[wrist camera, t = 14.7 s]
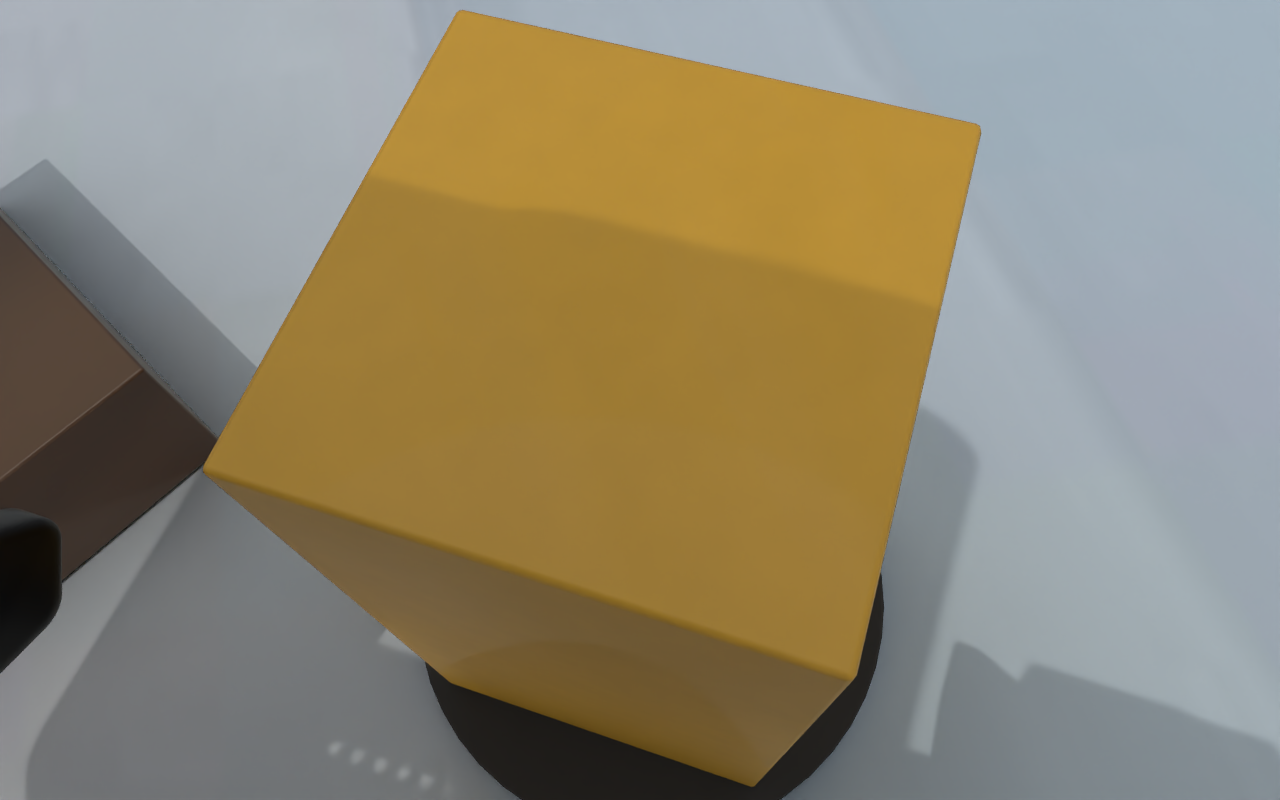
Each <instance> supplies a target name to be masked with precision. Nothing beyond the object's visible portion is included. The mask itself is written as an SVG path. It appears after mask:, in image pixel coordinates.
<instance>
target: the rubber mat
mask: <svg viewBox="0 0 1280 800" xmlns="http://www.w3.org/2000/svg"><path fill="white" fill-rule="evenodd" d="M883 612H884V602H883V588H882V576H881V572H880V576H879V581H878V585H877V589H876V594H875V598H874V602H873V607H872V611H871V616H870V620H869V624H868V629H867V633H866V637H865V642H864V646H863V650H862V655H861V659H860V663H859V668H858V672H857V676H856V677H855V678H854V680H853V681H852V682H851V683H850V684H849V685H848V686H847V687H846V689H845V690H844V691H843V692H842V693H841V694H840V695H839V696H838V697H837V698H836V699H835V700H834V701H833V702H832V704H831V705H830V706H829V707H828V708H827V709H826V710H825V711H824V712H823V713H822V714H821V715H820V716H819V718H818V719H817V720H816V721H815V722H814V723H813V724H812V725H811V726H810V727H809V728H808V729H807V730H806V731H805V733H804V734H803V735H802V736H801V737H800V738H799V739H798V740H797V741H796V742H795V743H794V744H793V745H792V746H791V748H790V749H789V750H788V751H787V752H786V753H785V754H784V755H783V756H782V757H781V758H780V759H779V760H778V762H777V763H776V764H775V765H774V766H773V767H772V768H771V769H770V770H769V771H768V772H767V773H766V774H765V775H764V777H763V778H762V779H761V780H760V781H759V782H758V783H757V784H756V785H755V786H753V787H750V786H747V785H744V784H742V783H739V782H736V781H733V780H730V779H727V778H724V777H721V776H718V775H715V774H713V773H710V772H707V771H704V770H701V769H698V768H695V767H692V766H689V765H687V764H684V763H681V762H678V761H675V760H672V759H669V758H666V757H663V756H660V755H658V754H655V753H652V752H649V751H646V750H643V749H640V748H637V747H634V746H632V745H629V744H626V743H623V742H620V741H617V740H614V739H611V738H608V737H605V736H603V735H600V734H597V733H594V732H591V731H588V730H585V729H582V728H579V727H577V726H574V725H571V724H568V723H565V722H562V721H559V720H556V719H553V718H550V717H548V716H545V715H542V714H539V713H536V712H533V711H530V710H527V709H524V708H521V707H519V706H516V705H513V704H510V703H507V702H504V701H501V700H498V699H495V698H493V697H490V696H487V695H484V694H481V693H478V692H475V691H472V690H469V689H466V688H464V687H461V686H458V685H455V684H452V683H450V682H449V681H448V680H447V679H445V678H444V677H443V676H442V675H441V674H440V673H438V672H437V671H436V670H435V669H434V668H432V667H431V666H430V665H429V664H428V663H427V662H425V664H426V668H427V671H428V675H429V679H430V683H431V685H432V687H433V690H434V692H435V694H436V697H437V699H438V702H439V704H440V706H441V709H442V711H443V713H444V715H445V716H446V718H447V720H448V721H449V723H450V725H451V726H452V728H453V730H454V731H455V733H456V735H457V736H458V738H459V740H460V741H461V742H462V743H463V745H464V746H465V747H466V748H467V750H468V751H469V752H470V753H471V755H472V756H473V757H474V758H475V759H476V761H477V762H478V763H479V764H480V765H481V766H482V767H483V768H484V769H485V770H486V771H487V772H488V773H489V774H490V775H491V776H492V777H494V778H495V779H496V780H497V781H498V782H499V783H500V784H501V785H502V786H503V787H505V788H506V789H508V790H509V791H510V792H512V793H513V794H515V795H516V796H518V797H519V798H520V799H522V800H780V799H781V798H783V797H784V796H786V795H787V794H788V793H789V792H791V791H792V790H793V789H794V788H796V787H797V786H798V785H799V784H801V783H802V782H803V781H804V780H806V779H807V778H808V777H809V776H810V775H811V774H812V773H813V772H814V771H815V770H816V769H817V768H818V767H819V766H820V765H821V764H822V763H823V762H824V760H825V759H826V758H827V757H828V756H829V755H830V754H831V753H832V752H833V750H834V749H835V748H836V746H837V745H838V743H839V742H840V740H841V739H842V738H843V736H844V735H845V733H846V732H847V731H848V729H849V728H850V726H851V725H852V723H853V721H854V719H855V717H856V715H857V713H858V711H859V709H860V707H861V705H862V703H863V701H864V699H865V697H866V694H867V691H868V689H869V686H870V683H871V680H872V677H873V674H874V671H875V668H876V664H877V659H878V654H879V649H880V644H881V639H882V628H883Z"/></svg>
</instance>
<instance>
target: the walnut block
mask: <svg viewBox="0 0 1280 800" xmlns="http://www.w3.org/2000/svg"><path fill="white" fill-rule="evenodd" d="M218 439H219V438H218V437H217V436H216V435H215V434H214V433H213V432H212V431H211V430H210V429H209V427H208V426H207V425H206V424H205V423H204V422H203V421H202V420H201V419H200V418H199V417H198V416H197V415H196V414H195V413H194V412H193V411H192V410H191V408H190V407H189V406H188V405H187V404H186V403H185V402H184V401H183V400H182V399H181V398H180V397H179V396H178V395H177V394H176V393H175V392H174V391H173V389H172V388H171V387H170V386H169V385H168V384H167V383H166V382H165V381H164V380H163V379H162V378H161V377H160V376H159V375H158V374H157V373H156V372H155V370H154V369H153V368H152V367H151V366H150V365H149V364H148V363H147V362H146V361H145V360H144V359H143V358H142V357H141V356H140V355H139V354H138V353H137V351H136V350H135V349H134V348H133V347H132V346H131V345H130V344H129V343H128V342H127V341H126V340H125V339H124V338H123V337H122V336H121V335H120V334H119V332H118V331H117V330H116V329H115V328H114V327H113V326H112V325H111V324H110V323H109V322H108V321H107V320H106V319H105V318H104V317H103V316H102V315H101V313H100V312H99V311H98V310H97V309H96V308H95V307H94V306H93V305H92V304H91V303H90V302H89V301H88V300H87V299H86V298H85V297H84V296H83V294H82V293H81V292H80V291H79V290H78V289H77V288H76V287H75V286H74V285H73V284H72V283H71V282H70V281H69V280H68V279H67V278H66V277H65V275H64V274H63V273H62V272H61V271H60V270H59V269H58V268H57V267H56V266H55V265H54V264H53V263H52V262H51V261H50V260H49V259H48V258H47V256H46V255H45V254H44V253H43V252H42V251H41V250H40V249H39V248H38V247H37V246H36V245H35V244H34V243H33V242H32V241H31V240H30V239H29V237H28V236H27V235H26V234H25V233H24V232H23V231H22V230H21V229H20V228H19V227H18V226H17V225H16V224H15V223H14V222H13V221H12V220H11V218H10V217H9V216H8V215H7V214H6V213H5V212H4V211H3V210H2V209H1V208H0V509H5V508H17V509H21V510H25V511H28V512H31V513H34V514H37V515H39V516H42V517H45V518H48V519H50V520H52V521H53V522H55V523H56V524H57V525H58V527H59V530H60V532H61V537H62V580H63V579H64V578H66V577H67V576H68V575H69V574H70V573H72V572H73V571H74V570H75V569H76V568H78V567H79V566H80V565H81V564H82V563H84V562H85V561H86V560H87V559H88V558H90V557H91V556H92V555H93V554H94V553H96V552H97V551H98V550H99V549H100V548H102V547H103V546H104V545H105V544H106V543H108V542H109V541H110V540H111V539H112V538H114V537H115V536H116V535H117V534H118V533H120V532H121V531H122V530H123V529H124V528H126V527H127V526H128V525H129V524H130V523H132V522H133V521H134V520H135V519H136V518H138V517H139V516H140V515H141V514H142V513H144V512H145V511H146V510H147V509H148V508H150V507H151V506H152V505H153V504H154V503H156V502H157V501H158V500H159V499H160V498H162V497H163V496H164V495H165V494H166V493H168V492H169V491H170V490H171V489H173V488H174V487H175V486H176V485H177V484H179V483H180V482H181V481H182V480H183V479H185V478H186V477H187V476H188V475H189V474H191V473H192V472H193V471H194V470H195V469H197V468H198V467H199V466H200V465H201V464H203V463H204V462H205V461H206V460H207V458H208V456H209V455H210V453H211V451H212V449H213V447H214V446H215V444H216V442H217V440H218Z"/></svg>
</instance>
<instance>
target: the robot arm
mask: <svg viewBox="0 0 1280 800" xmlns="http://www.w3.org/2000/svg"><path fill="white" fill-rule="evenodd" d="M61 597H62V537H61V532H60V530H59V527H58V525H57V524H56V523H55V522H53V521H52V520H50V519H48V518H45V517H42V516H39V515H37V514H34V513H31V512H28V511H25V510H21V509H17V508H5V509H0V673H1V672H2V671H3V670H4V669H5V668H6V667H7V666H8V665H9V664H10V663H11V662H12V661H13V660H14V659H15V658H16V657H17V656H18V655H19V654H20V653H21V652H22V651H23V650H24V649H25V648H26V647H27V646H28V645H29V644H30V643H31V642H32V641H33V640H34V639H35V638H36V637H37V636H38V635H39V634H40V633H41V632H42V631H43V630H44V629H45V628H46V627H47V626H48V625H49V624H50V622H51V621H52V619H53V618H54V616H55V615H56V613H57V611H58V609H59V606H60V602H61Z"/></svg>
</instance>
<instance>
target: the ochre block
mask: <svg viewBox="0 0 1280 800" xmlns="http://www.w3.org/2000/svg"><path fill="white" fill-rule="evenodd" d="M980 136H981V129H980V126H979V125H977V124H975V123H970V122H966V121H961V120H957V119H952V118H948V117H943V116H939V115H934V114H930V113H925V112H921V111H916V110H912V109H907V108H903V107H898V106H894V105H889V104H885V103H880V102H876V101H871V100H867V99H862V98H858V97H853V96H849V95H844V94H840V93H835V92H830V91H826V90H821V89H817V88H812V87H808V86H803V85H799V84H794V83H790V82H785V81H781V80H776V79H772V78H767V77H763V76H758V75H754V74H749V73H745V72H740V71H736V70H731V69H727V68H722V67H718V66H713V65H709V64H704V63H700V62H695V61H691V60H686V59H682V58H677V57H673V56H668V55H663V54H659V53H654V52H650V51H645V50H641V49H636V48H632V47H627V46H623V45H618V44H614V43H609V42H605V41H600V40H596V39H591V38H587V37H582V36H578V35H573V34H569V33H564V32H560V31H555V30H551V29H546V28H542V27H537V26H533V25H528V24H524V23H519V22H515V21H510V20H505V19H501V18H496V17H492V16H487V15H483V14H478V13H474V12H469V11H465V10H460V11H458V12H457V13H456V15H455V16H454V18H453V20H452V22H451V24H450V25H449V27H448V29H447V31H446V33H445V34H444V36H443V38H442V40H441V41H440V43H439V45H438V47H437V49H436V50H435V52H434V54H433V56H432V58H431V59H430V61H429V63H428V65H427V67H426V68H425V70H424V72H423V74H422V75H421V77H420V79H419V81H418V83H417V84H416V86H415V88H414V90H413V92H412V93H411V95H410V97H409V99H408V101H407V102H406V104H405V106H404V108H403V109H402V111H401V113H400V115H399V117H398V118H397V120H396V122H395V124H394V126H393V127H392V129H391V131H390V133H389V134H388V136H387V138H386V140H385V142H384V143H383V145H382V147H381V149H380V151H379V152H378V154H377V156H376V158H375V160H374V161H373V163H372V165H371V167H370V168H369V170H368V172H367V174H366V176H365V177H364V179H363V181H362V183H361V185H360V186H359V188H358V190H357V192H356V194H355V195H354V197H353V199H352V201H351V202H350V204H349V206H348V208H347V210H346V211H345V213H344V215H343V217H342V219H341V220H340V222H339V224H338V226H337V227H336V229H335V231H334V233H333V235H332V236H331V238H330V240H329V242H328V244H327V245H326V247H325V249H324V251H323V253H322V254H321V256H320V258H319V260H318V261H317V263H316V265H315V267H314V269H313V270H312V272H311V274H310V276H309V278H308V279H307V281H306V283H305V285H304V287H303V288H302V290H301V292H300V294H299V295H298V297H297V299H296V301H295V303H294V304H293V306H292V308H291V310H290V312H289V313H288V315H287V317H286V319H285V320H284V322H283V324H282V326H281V328H280V329H279V331H278V333H277V335H276V337H275V338H274V340H273V342H272V344H271V346H270V347H269V349H268V351H267V353H266V354H265V356H264V358H263V360H262V362H261V363H260V365H259V367H258V369H257V371H256V372H255V374H254V376H253V378H252V380H251V381H250V383H249V385H248V387H247V388H246V390H245V392H244V394H243V396H242V397H241V399H240V401H239V403H238V405H237V406H236V408H235V410H234V412H233V414H232V415H231V417H230V419H229V421H228V422H227V424H226V426H225V428H224V430H223V431H222V433H221V435H220V437H219V439H218V440H217V442H216V444H215V446H214V447H213V449H212V451H211V453H210V455H209V456H208V458H207V460H206V462H205V464H204V467H203V473H204V474H205V475H206V476H207V477H209V478H210V479H211V480H212V481H213V482H215V483H216V484H217V485H218V486H219V487H220V488H222V489H223V490H224V491H225V492H226V493H227V494H229V495H230V496H231V497H232V498H233V499H235V500H236V501H237V502H238V503H239V504H240V505H242V506H243V507H244V508H245V509H246V510H248V511H249V512H250V513H251V514H252V515H253V516H255V517H256V518H257V519H258V520H259V521H260V522H262V523H263V524H264V525H265V526H266V527H268V528H269V529H270V530H271V531H272V532H273V533H275V534H276V535H277V536H278V537H279V538H280V539H282V540H283V541H284V542H285V543H286V544H288V545H289V546H290V547H291V548H292V549H293V550H295V551H296V552H297V553H298V554H299V555H301V556H302V557H303V558H304V559H305V560H306V561H308V562H309V563H310V564H311V565H312V566H313V567H315V568H316V569H317V570H318V571H319V572H321V573H322V574H323V575H324V576H325V577H326V578H328V579H329V580H330V581H331V582H332V583H334V584H335V585H336V586H337V587H338V588H339V589H341V590H342V591H343V592H344V593H345V594H346V595H348V596H349V597H350V598H351V599H352V600H354V601H355V602H356V603H357V604H358V605H359V606H361V607H362V608H363V609H364V610H365V611H367V612H368V613H369V614H370V615H371V616H372V617H374V618H375V619H376V620H377V621H378V622H379V623H381V624H382V625H383V626H384V627H385V628H387V629H388V630H389V631H390V632H391V633H392V634H394V635H395V636H396V637H397V638H398V639H399V640H401V641H402V642H403V643H404V644H405V645H407V646H408V647H409V648H410V649H411V650H412V651H414V652H415V653H416V654H417V655H418V656H420V657H421V658H422V659H423V660H424V661H425V662H427V663H428V664H429V665H430V666H431V667H432V668H434V669H435V670H436V671H437V672H438V673H440V674H441V675H442V676H443V677H444V678H445V679H447V680H448V681H449V682H450V683H452V684H455V685H458V686H461V687H464V688H466V689H469V690H472V691H475V692H478V693H481V694H484V695H487V696H490V697H493V698H495V699H498V700H501V701H504V702H507V703H510V704H513V705H516V706H519V707H521V708H524V709H527V710H530V711H533V712H536V713H539V714H542V715H545V716H548V717H550V718H553V719H556V720H559V721H562V722H565V723H568V724H571V725H574V726H577V727H579V728H582V729H585V730H588V731H591V732H594V733H597V734H600V735H603V736H605V737H608V738H611V739H614V740H617V741H620V742H623V743H626V744H629V745H632V746H634V747H637V748H640V749H643V750H646V751H649V752H652V753H655V754H658V755H660V756H663V757H666V758H669V759H672V760H675V761H678V762H681V763H684V764H687V765H689V766H692V767H695V768H698V769H701V770H704V771H707V772H710V773H713V774H715V775H718V776H721V777H724V778H727V779H730V780H733V781H736V782H739V783H742V784H744V785H747V786H750V787H753V786H755V785H756V784H757V783H758V782H759V781H760V780H761V779H762V778H763V777H764V775H765V774H766V773H767V772H768V771H769V770H770V769H771V768H772V767H773V766H774V765H775V764H776V763H777V762H778V760H779V759H780V758H781V757H782V756H783V755H784V754H785V753H786V752H787V751H788V750H789V749H790V748H791V746H792V745H793V744H794V743H795V742H796V741H797V740H798V739H799V738H800V737H801V736H802V735H803V734H804V733H805V731H806V730H807V729H808V728H809V727H810V726H811V725H812V724H813V723H814V722H815V721H816V720H817V719H818V718H819V716H820V715H821V714H822V713H823V712H824V711H825V710H826V709H827V708H828V707H829V706H830V705H831V704H832V702H833V701H834V700H835V699H836V698H837V697H838V696H839V695H840V694H841V693H842V692H843V691H844V690H845V689H846V687H847V686H848V685H849V684H850V683H851V682H852V681H853V680H854V678H855V677H856V676H857V672H858V668H859V663H860V659H861V655H862V650H863V646H864V642H865V637H866V633H867V629H868V624H869V620H870V616H871V611H872V607H873V602H874V598H875V594H876V589H877V585H878V581H879V576H880V572H881V568H882V563H883V559H884V555H885V550H886V546H887V541H888V537H889V533H890V528H891V524H892V520H893V515H894V511H895V507H896V502H897V498H898V494H899V489H900V485H901V480H902V476H903V472H904V467H905V463H906V459H907V454H908V450H909V446H910V441H911V437H912V432H913V428H914V424H915V419H916V415H917V411H918V406H919V402H920V398H921V393H922V389H923V385H924V380H925V376H926V371H927V367H928V363H929V358H930V354H931V350H932V345H933V341H934V337H935V332H936V328H937V324H938V319H939V315H940V310H941V306H942V302H943V297H944V293H945V289H946V284H947V280H948V276H949V271H950V267H951V263H952V258H953V254H954V249H955V245H956V241H957V236H958V232H959V228H960V223H961V219H962V215H963V210H964V206H965V202H966V197H967V193H968V188H969V184H970V180H971V175H972V171H973V167H974V162H975V158H976V154H977V149H978V145H979V140H980Z"/></svg>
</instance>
